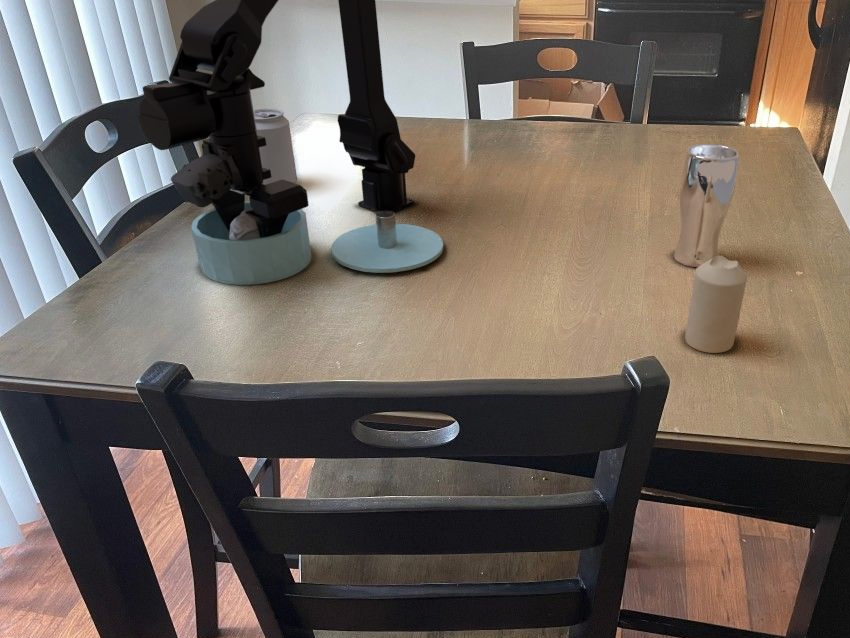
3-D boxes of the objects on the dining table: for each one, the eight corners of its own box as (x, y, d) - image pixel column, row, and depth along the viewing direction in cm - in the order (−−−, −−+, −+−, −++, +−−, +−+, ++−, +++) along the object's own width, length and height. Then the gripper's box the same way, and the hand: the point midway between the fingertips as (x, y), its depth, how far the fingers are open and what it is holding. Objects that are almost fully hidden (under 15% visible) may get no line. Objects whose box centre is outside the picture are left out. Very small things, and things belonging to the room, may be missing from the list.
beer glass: (724, 252, 109) (743, 146, 100) (718, 272, 103) (738, 162, 95) (675, 245, 111) (689, 140, 102) (666, 264, 105) (681, 156, 97)
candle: (679, 330, 90) (691, 251, 85) (724, 328, 91) (739, 250, 85) (692, 354, 86) (706, 273, 80) (740, 352, 86) (757, 271, 80)
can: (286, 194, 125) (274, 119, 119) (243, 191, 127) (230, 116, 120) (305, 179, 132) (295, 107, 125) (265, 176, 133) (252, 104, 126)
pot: (265, 231, 113) (258, 192, 109) (334, 257, 106) (328, 216, 102) (178, 264, 103) (168, 223, 100) (247, 295, 96) (239, 252, 93)
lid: (387, 223, 116) (384, 186, 113) (465, 248, 109) (465, 210, 105) (308, 256, 106) (303, 217, 103) (389, 287, 98) (386, 246, 95)
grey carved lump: (240, 272, 100) (230, 222, 96) (228, 253, 105) (217, 204, 101) (286, 263, 103) (278, 213, 99) (272, 244, 108) (263, 196, 104)
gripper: (129, 130, 94) (159, 249, 102) (224, 161, 84) (248, 289, 93) (207, 112, 101) (229, 224, 110) (302, 139, 92) (318, 259, 101)
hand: (253, 248), depth 103 cm, fingers closed on grey carved lump, 6 cm apart
